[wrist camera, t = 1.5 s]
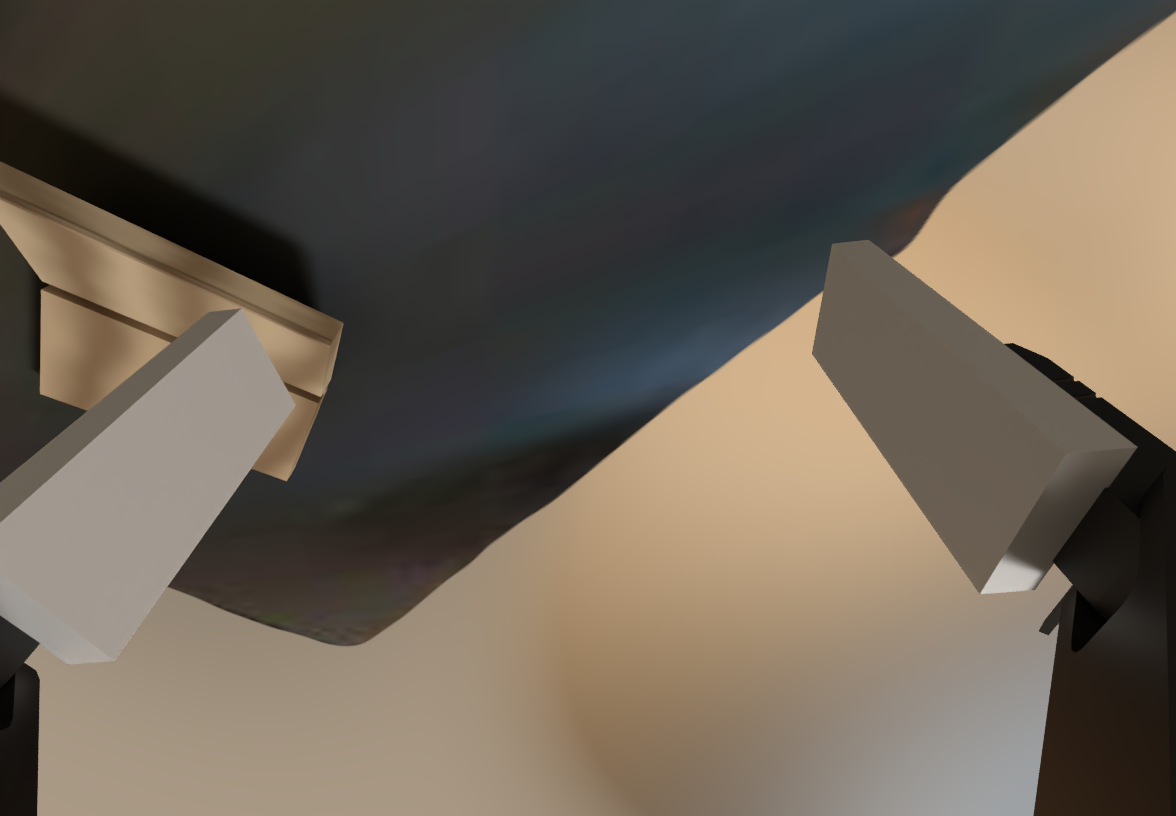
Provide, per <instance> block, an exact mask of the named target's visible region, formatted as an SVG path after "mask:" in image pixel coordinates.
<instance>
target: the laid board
mask: <svg viewBox="0 0 1176 816" xmlns="http://www.w3.org/2000/svg"><path fill="white" fill-rule="evenodd" d="M176 338H178V337H175V336H173V335H170V334H168V333H166V332H163V331H161V330H158V329H156V328H154V327H151V326H149V325H146V324H144V323H142V322H139V321H137V320H134V319H132V318H129V317H127V316H125V315H122V314H120V313H117V312H115V311H113V310H110V309H108V308H105V307H103V306H101V305H98V304H96V303H93V302H91V301H89V300H86V299H84V298H81V297H79V296H77V295H74V294H72V293H69V292H67V291H65V290H62V289H60V288H57V287H55V286H53V285H49V286H47V287H45V288H43V289H41V351H40V394H42V395H45V396H48V397H51V398H53V399H56V400H59V401H62V402H65V403H67V404H70V405H73V406H76V407H79V408H82V409H84V410H87V411H89V410H90V409H91V408H92V407H93V406H95V405H96V404H97V403H98V402H100V401H101V400H102V399H103V398H104V397H106V396H107V395H108V394H109V393H111V392H112V391H113V390H114V389H115V388H117V387H118V386H119V385H120V384H122V383H123V382H124V381H125V380H126V379H128V378H129V377H130V376H131V375H133V374H134V373H135V372H136V371H137V370H139V369H140V368H141V367H142V366H143V365H145V364H146V363H147V362H148V361H150V360H151V359H152V358H153V357H154V356H156V355H157V354H158V353H159V352H161V351H162V350H163V349H164V348H165V347H167V346H168V345H169V344H170V343H172V342H173V341H174V340H175V339H176ZM283 383H284V385H285V387H286V388H287V390H288V392H289V394H290V396H291V397H292V399H293V401H294V403H295V405H296V406H295V407H294V409H293V410H292V411H291V413H290V414H289V416H288V417H287V418H286V420H285V421H284V423H283V424H282V425H281V427H280V428H279V430H278V431H277V433H276V434H275V435H274V437H273V438H272V440H271V441H270V442H269V444H268V445H267V447H266V448H265V449H264V451H263V452H262V454H261V455H260V456H259V458H258V459H257V461H256V462H255V464H254V465H253V466H252V468H251V469H254V470H257V471H260V472H262V473H265V474H268V475H271V476H274V477H277V478H279V479H282V480H285V481H287V480H288V478H289V476H290V475H291V473H292V472H293V470H294V468H295V466H296V464H297V461H298V459H299V456H300V454H301V451H302V449H303V447H304V444H305V442H306V439H307V437H308V434H309V432H310V430H311V427H312V425H313V422H314V420H315V417H316V415H317V412H318V410H319V408H320V405H321V403H322V400H323V398H324V395H325V393H326V391H327V388H328V386H327V387H326V389H325V391H324V393H323V394H322V396H321V397H319V396H317V395H315V394H312V393H310V392H307V391H305V390H303V389H300V388H298V387H295V386H293V385H291V384H288V383H286V382H283Z"/></svg>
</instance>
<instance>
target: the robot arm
mask: <svg viewBox="0 0 1176 816" xmlns="http://www.w3.org/2000/svg"><path fill="white" fill-rule="evenodd" d="M812 354H813V356H814V357H815V359H816V360H817V362H818V363H819V364H820V366H821V367H822V369H823V370H824V372H825V373H826V375H827V376H828V377H829V379H830V380H831V382H832V383H833V385H834V386H835V387H836V389H837V390H838V392H839V393H840V395H841V396H842V397H843V399H844V400H845V402H846V403H847V404H848V406H849V407H850V409H851V410H852V412H853V413H854V415H855V416H856V417H857V419H858V420H859V422H860V423H861V424H862V426H863V427H864V429H865V430H866V432H867V433H868V435H869V436H870V438H871V439H872V440H873V442H874V443H875V445H876V446H877V447H878V449H879V450H880V452H881V453H882V455H883V456H884V458H885V459H886V460H887V462H888V463H889V465H890V466H891V468H892V469H893V470H894V472H895V473H896V475H897V476H898V478H899V479H900V480H901V482H902V483H903V485H904V486H905V488H906V489H907V491H908V492H909V493H910V495H911V496H912V498H913V499H914V501H915V502H916V503H917V505H918V506H919V508H920V509H921V511H922V512H923V513H924V515H925V516H926V518H927V519H928V521H929V522H930V523H931V525H932V526H933V528H934V529H935V530H936V532H937V533H938V535H939V536H940V538H941V539H942V541H943V542H944V543H945V545H946V546H947V548H948V549H949V551H950V552H951V554H952V555H953V556H954V558H955V559H956V560H957V562H958V563H959V565H960V566H961V568H962V569H963V571H964V572H965V574H966V575H967V576H968V578H969V579H970V581H971V582H972V583H973V585H974V586H975V588H976V589H977V591H978V592H979V594H988V593H1000V592H1013V591H1025V590H1026V591H1027V590H1035V589H1036V587H1037V586H1038V585H1039V583H1040V582H1041V580H1042V579H1043V578H1044V576H1045V575H1046V573H1047V572H1048V571H1049V569H1050V568H1051V567H1052V565H1053V564H1055V565H1056V566H1057V567H1058V568H1059V569H1060V570H1061V572H1062V573H1063V574H1064V575H1065V576H1066V577H1067V578H1068V579H1069V581H1070V582H1071V583H1072V584H1073V585H1072V586H1071V588H1070V589H1069V590H1068V592H1067V593H1066V594H1065V595H1064V597H1063V598H1062V599H1061V600H1060V602H1059V603H1058V604H1057V605H1056V607H1055V608H1054V609H1053V611H1052V612H1051V613H1050V614H1049V616H1048V617H1047V618H1046V619H1045V621H1044V623H1043V625H1042V626H1041V628H1040V630H1039V631H1040V632H1042V633H1044V634H1047V635H1049V634H1050V633H1051V631H1052V630H1053V629H1054V628H1055V627H1056V625H1058V624H1059V629H1058V637H1057V644H1056V652H1055V659H1054V667H1053V674H1052V681H1051V689H1050V696H1049V704H1048V711H1047V719H1046V726H1045V734H1044V741H1043V749H1042V756H1041V764H1040V772H1039V779H1038V786H1037V794H1036V802H1035V809H1034V816H1176V451H1174V450H1173V449H1172V448H1170V447H1169V446H1168V445H1166V444H1165V443H1163V442H1162V441H1161V440H1159V439H1158V438H1157V437H1155V436H1154V435H1152V434H1151V433H1150V432H1148V431H1147V430H1145V429H1144V428H1143V427H1142V426H1140V425H1139V424H1137V423H1136V422H1135V421H1133V420H1132V419H1131V418H1129V417H1128V416H1126V415H1125V414H1124V413H1122V412H1121V411H1119V410H1118V409H1117V408H1115V407H1114V406H1113V405H1111V404H1110V403H1109V402H1107V401H1106V400H1104V399H1103V398H1096V396H1095V395H1096V393H1095V392H1094V391H1092V390H1091V389H1089V388H1088V387H1086V386H1085V385H1084V384H1083V383H1081V382H1080V381H1074V377H1073V376H1071V375H1070V374H1068V373H1067V372H1066V371H1065V370H1063V369H1062V368H1061V367H1059V366H1058V365H1056V364H1055V363H1054V362H1052V361H1051V360H1049V359H1048V358H1046V357H1044V356H1042V355H1039V354H1037V353H1035V352H1032V351H1030V350H1028V349H1025V348H1023V347H1021V346H1018V345H1016V344H1014V343H1010V344H1003V343H1002V342H1000V341H999V340H998V339H997V338H995V337H994V336H993V335H991V334H990V333H989V332H987V331H986V330H985V329H984V328H982V327H981V326H980V325H978V324H977V323H976V322H975V321H973V320H972V319H971V318H969V317H968V316H967V315H965V314H964V313H962V311H960V310H959V309H957V308H956V307H955V306H954V305H952V304H951V303H950V302H949V301H947V300H946V299H945V298H943V297H942V296H941V295H939V294H938V293H937V292H936V291H934V290H933V289H932V288H930V287H929V286H928V285H926V284H925V283H924V282H922V281H921V280H920V279H919V278H917V277H916V276H915V275H914V274H912V273H910V272H909V271H908V270H907V269H906V268H904V267H903V266H902V265H901V264H899V263H898V262H897V261H895V260H894V259H893V258H891V257H890V256H889V255H888V254H886V253H885V252H884V251H882V250H881V249H880V248H878V247H877V246H876V245H875V244H873V243H872V242H871V241H869V240H864V241H855V242H845V243H836V244H832V248H831V253H830V259H829V264H828V270H827V275H826V280H825V286H824V291H823V297H822V303H821V308H820V313H819V319H818V324H817V329H816V335H815V340H814V346H813V351H812ZM295 406H296V405H295V403H294V401H293V399H292V397H291V396H290V394H289V392H288V390H287V388H286V387H285V385H284V383H283V381H282V380H281V378H280V376H279V374H278V372H277V371H276V369H275V367H274V365H273V364H272V362H271V360H270V358H269V356H268V355H267V353H266V351H265V349H264V348H263V346H262V344H261V342H260V340H259V339H258V337H257V335H256V333H255V331H254V330H253V328H252V326H251V324H250V323H249V321H248V319H247V317H246V315H245V314H244V312H243V310H242V308H240V309H231V310H222V311H213V312H208V313H207V314H206V315H205V316H203V317H202V318H201V319H200V320H198V321H197V322H196V323H195V324H194V325H192V326H191V327H190V328H189V329H187V330H186V331H185V332H184V333H183V334H181V335H180V336H179V337H178V338H176V339H175V340H174V341H173V342H172V343H170V344H169V345H168V346H167V347H165V348H164V349H163V350H162V351H161V352H159V353H158V354H157V355H156V356H154V357H153V358H152V359H151V360H150V361H148V362H147V363H146V364H145V365H143V366H142V367H141V368H140V369H139V370H137V371H136V372H135V373H134V374H133V375H131V376H130V377H129V378H128V379H126V380H125V381H124V382H123V383H122V384H120V385H119V386H118V387H117V388H115V389H114V390H113V391H112V392H111V393H109V394H108V395H107V396H106V397H104V398H103V399H102V400H101V401H100V402H98V403H97V404H96V405H95V406H93V407H92V408H91V409H90V410H89V411H87V412H86V413H85V414H84V415H82V416H81V417H80V418H79V419H78V420H76V421H75V422H74V423H73V424H71V425H70V426H69V427H68V428H67V429H65V430H64V431H63V432H62V433H60V434H59V435H58V436H57V437H56V438H54V439H53V440H52V441H51V442H49V443H48V444H47V445H46V446H45V447H43V448H42V449H41V450H40V451H38V452H37V453H36V454H35V455H34V456H32V457H31V458H30V459H29V460H28V461H26V462H25V463H24V464H23V465H21V466H20V467H19V468H18V469H17V470H15V471H14V472H13V473H12V474H10V475H9V476H8V477H7V478H6V479H4V480H3V481H2V482H1V483H0V816H37V790H38V739H39V738H38V737H39V688H40V687H39V686H40V685H39V684H40V679H39V677H38V674H37V672H36V670H34V669H33V668H31V667H30V666H28V665H27V664H25V663H24V662H25V660H26V659H27V658H28V657H29V656H30V654H31V653H32V652H33V651H34V650H35V649H36V648H37V646H38V645H40V646H42V647H43V648H45V649H46V650H48V651H49V652H51V653H52V654H54V655H55V656H57V657H58V658H59V659H61V660H62V661H64V662H65V663H67V664H81V663H94V662H107V661H114V660H116V658H117V657H118V655H119V654H120V652H121V651H122V650H123V648H124V647H125V645H126V644H127V642H128V641H129V640H130V638H131V637H132V636H133V634H134V633H135V631H136V630H137V628H138V627H139V626H140V624H141V623H142V621H143V620H144V619H145V617H146V616H147V614H148V613H149V612H150V610H151V609H152V607H153V606H154V605H155V603H156V602H157V600H158V599H159V598H160V596H161V595H162V593H163V592H164V590H165V589H166V588H167V586H168V585H169V583H170V582H171V581H172V579H173V578H174V576H175V575H176V574H177V572H178V571H179V569H180V568H181V567H182V565H183V564H184V562H185V561H186V559H187V558H188V557H189V555H190V554H191V552H192V551H193V550H194V548H195V547H196V545H197V544H198V543H199V541H200V540H201V538H202V537H203V535H204V534H205V533H206V531H207V530H208V528H209V527H210V526H211V524H212V523H213V521H214V520H215V519H216V517H217V516H218V514H219V513H220V511H221V510H222V509H223V507H224V506H225V504H226V503H227V502H228V500H229V499H230V497H231V496H232V495H233V493H234V492H235V490H236V489H237V488H238V486H239V485H240V483H241V482H242V480H243V479H244V478H245V476H246V475H247V473H248V472H249V471H250V469H251V468H252V466H253V465H254V464H255V462H256V461H257V459H258V458H259V456H260V455H261V454H262V452H263V451H264V449H265V448H266V447H267V445H268V444H269V442H270V441H271V440H272V438H273V437H274V435H275V434H276V433H277V431H278V430H279V428H280V427H281V425H282V424H283V423H284V421H285V420H286V418H287V417H288V416H289V414H290V413H291V411H292V410H293V409H294V407H295Z"/></svg>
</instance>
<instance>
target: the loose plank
mask: <svg viewBox="0 0 1176 816" xmlns="http://www.w3.org/2000/svg"><path fill="white" fill-rule="evenodd" d="M0 224H1V226H2V227H3V228H4V230H5V231H6V233H7V234H8V235H9V237H10V238H11V239H12V241H13V242H14V244H15V245H16V246H17V248H18V249H19V250H20V252H21V253H22V254H23V256H24V257H25V259H26V260H27V261H28V263H29V264H30V265H31V267H32V268H33V270H34V271H35V272H36V274H37V275H38V276H39V278H40V279H41V280H42V281H43V282H45V283H48V284H50V285H53V286H55V287H57V288H60V289H62V290H65V291H67V292H69V293H72V294H74V295H77V296H79V297H81V298H84V299H86V300H89V301H91V302H93V303H96V304H98V305H101V306H103V307H105V308H108V309H110V310H113V311H115V312H117V313H120V314H122V315H125V316H127V317H129V318H132V319H134V320H137V321H139V322H142V323H144V324H146V325H149V326H151V327H154V328H156V329H158V330H161V331H163V332H166V333H168V334H170V335H173V336H175V337H179V336H180V335H181V334H183V333H184V332H185V331H186V330H187V329H189V328H190V327H191V326H192V325H194V324H195V323H196V322H197V321H198V320H200V319H201V318H202V317H203V316H205V315H206V314H207V313H208V312H213V311H222V310H231V309H240V308H242V310H243V312H244V314H245V315H246V317H247V319H248V321H249V323H250V324H251V326H252V328H253V330H254V331H255V333H256V335H257V337H258V339H259V340H260V342H261V344H262V346H263V348H264V349H265V351H266V353H267V355H268V356H269V358H270V360H271V362H272V364H273V365H274V367H275V369H276V371H277V372H278V374H279V376H280V378H281V380H282V381H283V382H286V383H288V384H291V385H293V386H295V387H298V388H300V389H303V390H305V391H307V392H310V393H312V394H315V395H317V396H319V397H321V396H322V394H323V393H324V391H325V389H326V387H327V385H328V384H329V382H330V380H331V376H332V372H333V367H334V363H335V359H336V354H337V350H338V345H339V341H340V336H341V332H342V327H343V323H342V322H340V321H338V320H336V319H334V318H332V317H330V316H327V315H325V314H323V313H321V312H319V311H317V310H315V309H313V308H311V307H308V306H306V305H304V304H302V303H300V302H298V301H296V300H294V299H291V298H289V297H287V296H285V295H283V294H281V293H279V292H277V291H274V290H272V289H270V288H268V287H266V286H264V285H262V284H260V283H257V282H255V281H253V280H251V279H249V278H247V277H245V276H243V275H240V274H238V273H236V272H234V271H232V270H230V269H228V268H226V267H223V266H221V265H219V264H217V263H215V262H213V261H211V260H209V259H206V258H204V257H202V256H200V255H198V254H196V253H194V252H192V251H189V250H187V249H185V248H183V247H181V246H179V245H177V244H175V243H172V242H170V241H168V240H166V239H164V238H162V237H160V236H158V235H155V234H153V233H151V232H149V231H147V230H145V229H143V228H141V227H138V226H136V225H134V224H132V223H130V222H128V221H126V220H124V219H121V218H119V217H117V216H115V215H113V214H111V213H109V212H107V211H104V210H102V209H100V208H98V207H96V206H94V205H92V204H90V203H87V202H85V201H83V200H81V199H79V198H77V197H75V196H73V195H70V194H68V193H66V192H64V191H62V190H60V189H58V188H56V187H53V186H51V185H49V184H47V183H45V182H43V181H41V180H39V179H36V178H34V177H32V176H30V175H28V174H26V173H24V172H22V171H20V170H17V169H15V168H13V167H11V166H9V165H7V164H5V163H3V162H0Z"/></svg>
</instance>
